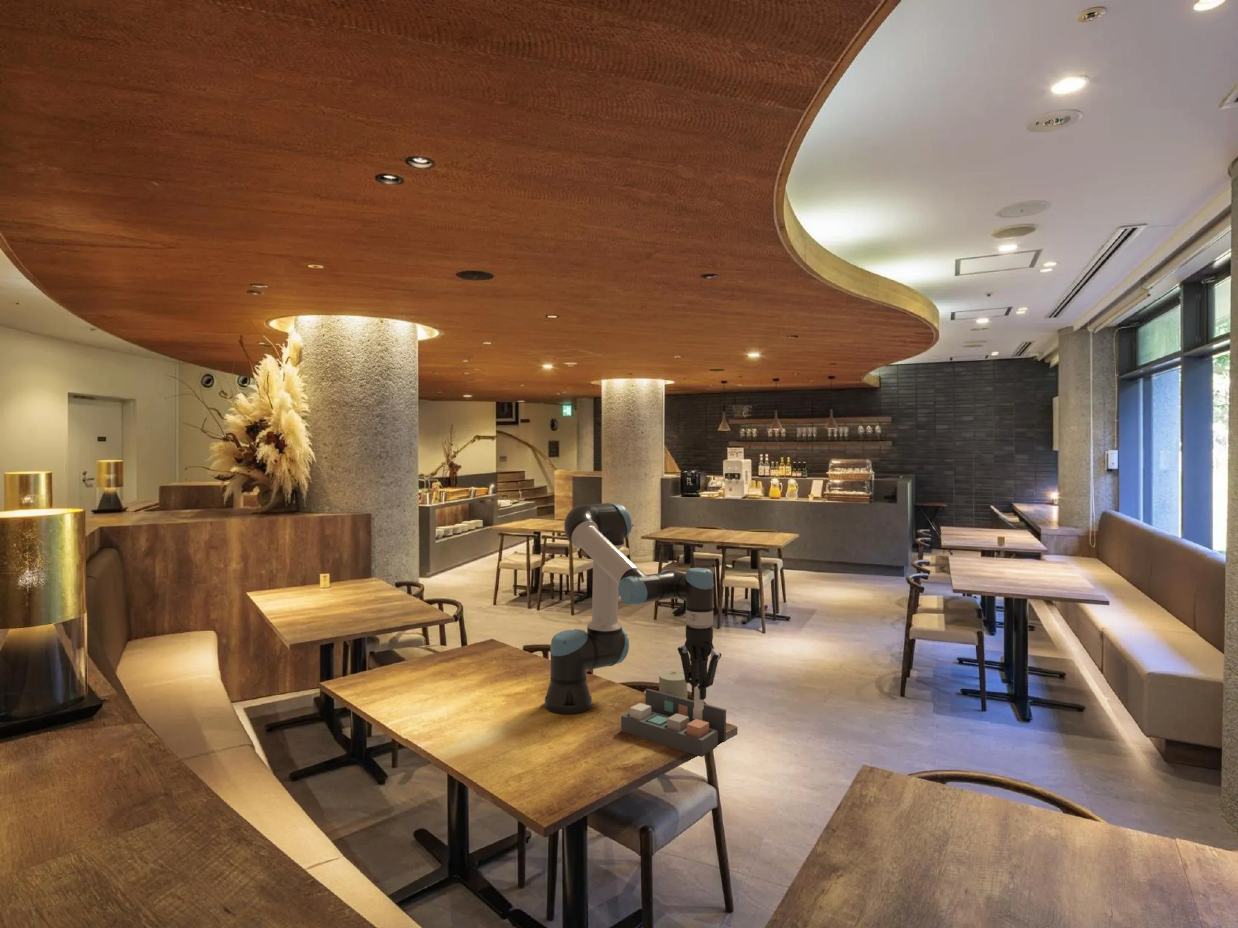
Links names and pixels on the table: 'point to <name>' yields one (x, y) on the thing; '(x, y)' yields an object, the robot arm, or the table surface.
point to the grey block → (677, 722)
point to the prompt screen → (687, 710)
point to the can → (673, 683)
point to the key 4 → (698, 728)
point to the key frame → (669, 735)
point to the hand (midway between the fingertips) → (698, 709)
